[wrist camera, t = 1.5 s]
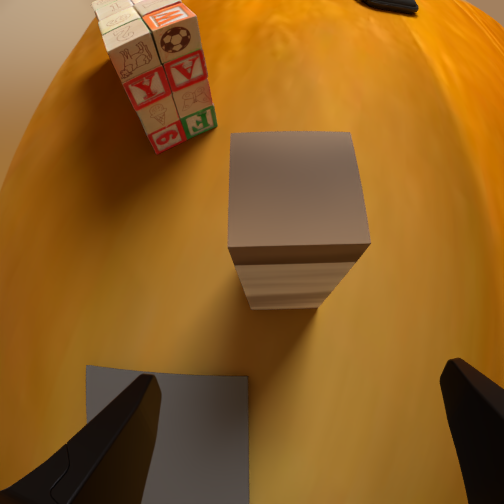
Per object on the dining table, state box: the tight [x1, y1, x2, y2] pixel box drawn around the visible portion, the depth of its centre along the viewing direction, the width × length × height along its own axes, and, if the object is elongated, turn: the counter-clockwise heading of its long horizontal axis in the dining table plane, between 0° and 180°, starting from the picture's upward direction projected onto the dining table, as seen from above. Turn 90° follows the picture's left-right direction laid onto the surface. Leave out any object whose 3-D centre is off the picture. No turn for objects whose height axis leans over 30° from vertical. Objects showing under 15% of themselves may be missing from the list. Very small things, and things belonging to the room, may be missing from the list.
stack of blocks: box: [91, 0, 218, 155], centre depth 25 cm, size 21×6×12 cm, turn 27°
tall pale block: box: [228, 131, 371, 310], centre depth 17 cm, size 5×5×12 cm
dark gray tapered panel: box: [86, 365, 249, 504], centre depth 17 cm, size 18×12×1 cm, turn 0°
